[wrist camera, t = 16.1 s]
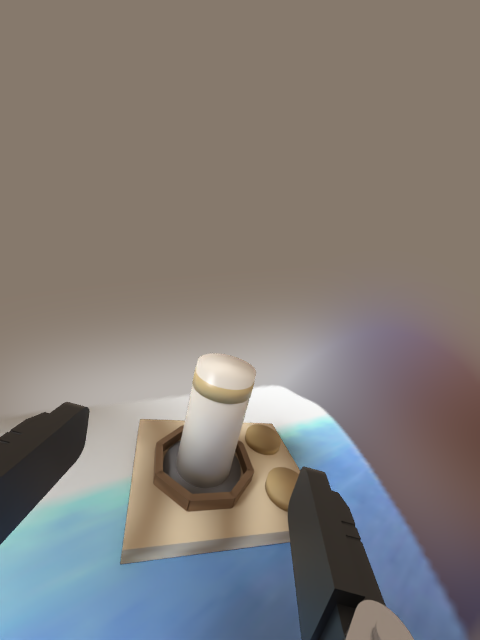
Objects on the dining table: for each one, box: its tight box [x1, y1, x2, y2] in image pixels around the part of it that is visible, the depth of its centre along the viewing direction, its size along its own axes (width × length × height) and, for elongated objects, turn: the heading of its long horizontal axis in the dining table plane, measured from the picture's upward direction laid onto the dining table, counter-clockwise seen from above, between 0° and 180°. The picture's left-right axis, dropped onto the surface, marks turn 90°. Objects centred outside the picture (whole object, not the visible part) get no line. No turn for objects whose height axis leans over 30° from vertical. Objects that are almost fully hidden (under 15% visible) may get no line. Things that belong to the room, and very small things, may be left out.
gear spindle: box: [176, 354, 256, 488], centre depth 23 cm, size 5×5×10 cm
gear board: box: [120, 419, 300, 564], centre depth 25 cm, size 16×13×2 cm
